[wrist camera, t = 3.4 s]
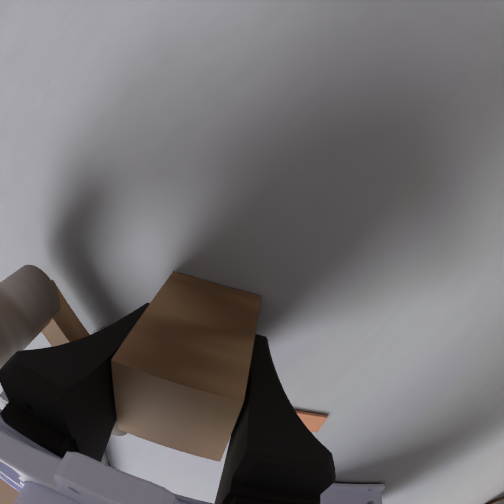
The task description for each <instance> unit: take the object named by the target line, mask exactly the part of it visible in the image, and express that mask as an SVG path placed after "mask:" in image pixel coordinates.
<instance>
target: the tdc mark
mask: <svg viewBox="0 0 504 504" xmlns="http://www.w3.org/2000/svg"><path fill="white" fill-rule="evenodd" d="M295 411H296V413H297V415H298V416H299V417H300V419H301V420H302V421H303V423H304V424H305V425H306V427H307V428H308V430H309V431H312V432H317V431H318V430H319V429H320V427H321V426H322V424H323V423H324V422H325V420H326V419H327V415H322V414H315V413H309V412H303V411H297V410H295Z"/></svg>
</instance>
